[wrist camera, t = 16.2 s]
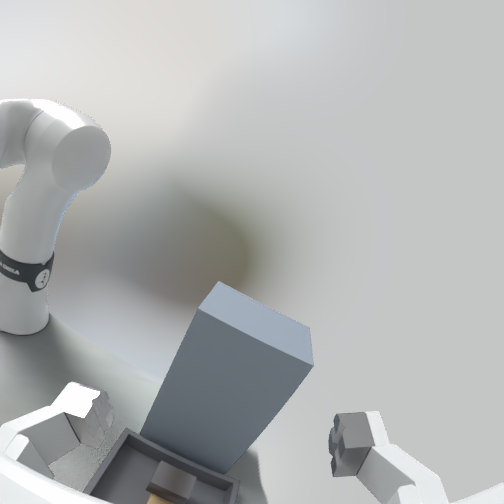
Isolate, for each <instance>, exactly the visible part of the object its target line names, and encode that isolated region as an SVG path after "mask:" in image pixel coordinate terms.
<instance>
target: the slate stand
mask: <svg viewBox="0 0 504 504" xmlns="http://www.w3.org/2000/svg"><path fill="white" fill-rule="evenodd" d="M313 366H314V363H313V353H312V344H311V335H310V328H309V327H307V326H305V325H303V324H301V323H299V322H297V321H295V320H293V319H291V318H289V317H287V316H285V315H283V314H281V313H279V312H277V311H275V310H273V309H271V308H269V307H267V306H266V305H264V304H262V303H260V302H258V301H256V300H254V299H252V298H250V297H248V296H246V295H244V294H242V293H240V292H238V291H236V290H235V289H233V288H231V287H229V286H227V285H225V284H223V283H221V282H220V281H218V283H217V284H216V285H215V287H214V288H213V289H212V291H211V292H210V293H209V294H208V296H207V297H206V298H205V300H204V301H203V302H202V304H201V305H200V306H199V308H198V309H197V311H196V314H195V316H194V318H193V320H192V322H191V324H190V327H189V328H188V330H187V332H186V335H185V337H184V339H183V341H182V343H181V345H180V347H179V349H178V352H177V354H176V356H175V358H174V360H173V362H172V364H171V367H170V369H169V371H168V373H167V375H166V377H165V379H164V382H163V384H162V386H161V388H160V390H159V392H158V395H157V397H156V399H155V401H154V403H153V406H152V408H151V410H150V412H149V414H148V417H147V419H146V421H145V423H144V426H143V428H142V430H141V432H140V436H142V437H144V438H146V439H147V440H149V441H151V442H153V443H155V444H157V445H159V446H161V447H163V448H164V449H166V450H168V451H170V452H173V453H175V454H177V455H179V456H181V457H183V458H185V459H187V460H189V461H192V462H194V463H196V464H198V465H201V466H203V467H205V468H208V469H210V470H213V471H215V472H217V473H220V474H222V475H224V474H225V473H226V472H227V471H228V470H229V469H230V468H231V467H232V466H233V464H234V463H235V462H236V461H237V460H238V459H239V458H240V457H241V456H242V455H243V453H244V452H245V451H246V450H247V449H248V448H249V447H250V446H251V444H252V443H253V442H254V441H255V440H256V439H257V437H258V436H259V435H260V434H261V433H262V432H263V430H264V429H265V428H266V427H267V425H268V424H269V423H270V422H271V421H272V420H273V418H274V417H275V416H276V415H277V413H278V412H279V411H280V410H281V408H282V407H283V406H284V405H285V403H286V402H287V401H288V399H289V398H290V397H291V396H292V394H293V393H294V392H295V390H296V389H297V388H298V386H299V385H300V384H301V383H302V381H303V380H304V378H305V377H306V376H307V375H308V373H309V372H310V370H311V369H312V367H313Z"/></svg>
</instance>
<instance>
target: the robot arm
mask: <svg viewBox="0 0 504 504" xmlns="http://www.w3.org/2000/svg"><path fill="white" fill-rule="evenodd" d="M110 154H111V146H110V141H109V139H108V136H107V135H106V133H105V132H104V131H103V130H102V128H101V127H100V126H99V125H98V124H97V123H96V122H95V120H94V119H92V118H91V117H90V116H88V115H86V114H84V113H81V112H79V111H77V110H75V109H73V108H70V107H68V106H66V105H63V104H61V103H59V102H57V101H53V100H39V99H9V100H0V169H3V168H6V167H9V166H13V165H19V164H25V168H24V171H23V174H22V176H21V178H20V180H19V182H18V184H17V186H16V188H15V190H14V192H13V193H11V194H10V195H9V196H8V198H7V199H6V202H5V206H4V211H3V216H2V222H1V228H0V330H1V331H5V332H8V333H12V334H17V335H28V334H33V333H36V332H38V331H40V330H42V329H43V328H44V327H45V326H46V324H47V323H48V320H49V312H48V303H47V297H48V295H47V291H48V281H49V277H50V274H51V270H52V265H53V260H54V251H53V250H54V246H55V242H56V238H57V234H58V230H59V227H60V224H61V221H62V218H63V216H64V213H65V211H66V209H67V208H68V206H69V204H70V203H71V201H72V200H73V199H74V197H75V196H76V195H77V193H79V192H80V191H82V190H85V189H87V188H89V187H90V186H92V185H93V184H94V183H95V182H97V181H98V180H99V178H100V177H101V176H102V175H103V173H104V172H105V170H106V168H107V166H108V163H109V160H110ZM108 399H109V397H108V395H107V392H106V391H103V390H100V389H96V388H93V387H89V386H86V385H83V384H79V383H76V382H70V383H68V384H67V386H66V387H65V388H64V390H63V391H62V392H61V393H60V395H59V396H58V397H57V399H56V400H55V401H54V402H53V404H52V405H51V406H46V407H43V408H41V409H38V410H36V411H34V412H31V413H29V414H26V415H24V416H22V417H19V418H17V419H14V420H12V421H9V422H7V423H4V424H3V425H2V426H1V427H0V504H113V503H110V502H107V501H104V500H101V499H98V498H96V497H93V496H90V495H88V494H85V493H82V492H80V491H77V490H75V489H73V488H70V487H68V486H66V485H63V484H61V483H59V482H57V481H55V480H53V479H54V474H53V473H52V471H51V470H50V469H49V467H48V465H49V464H51V463H52V462H54V461H55V460H57V459H59V458H60V457H62V456H63V455H65V454H66V453H68V452H69V451H71V450H72V449H74V448H75V447H77V446H79V445H80V443H81V444H84V445H87V446H91V447H94V448H97V449H99V448H100V446H101V444H102V442H103V440H104V439H105V434H104V432H105V431H106V430H108V429H110V427H111V425H112V423H113V418H114V414H113V409H112V406H111V405H110V404H109V403H108V402H107V400H108ZM329 453H330V454H331V455H332V456H333V458H332V461H331V467H332V473H333V477H343V476H356V477H357V478H358V479H359V480H360V481H361V482H362V483H363V485H364V486H365V487H366V488H367V489H368V490H369V491H370V492H371V493H372V494H373V495H374V496H375V497H376V498H377V500H378V501H379V502H380V503H381V504H449V502H448V499H447V496H446V494H445V491H444V488H443V485H442V483H441V480H440V477H439V476H438V475H436V474H435V473H433V472H432V471H431V470H429V469H428V468H426V467H425V466H424V465H422V464H421V463H420V462H418V461H417V460H415V459H414V458H412V457H411V456H410V455H409V454H407V453H406V452H404V451H403V450H402V449H400V448H399V447H398V446H397V445H395V444H390V441H389V438H388V435H387V432H386V429H385V426H384V423H383V420H382V417H381V415H380V413H379V412H378V411H372V412H358V413H342V414H336V416H335V418H334V427H333V428H332V429H331V431H330V434H329ZM450 504H504V482H502V483H500V484H497V485H495V486H493V487H491V488H488V489H486V490H484V491H482V492H479V493H477V494H474V495H472V496H469V497H466V498H464V499H461V500H458V501H456V502H452V503H450Z"/></svg>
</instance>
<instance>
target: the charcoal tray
mask: <svg viewBox="0 0 504 504" xmlns="http://www.w3.org/2000/svg"><path fill="white" fill-rule="evenodd" d="M161 460H162V461H164V462H166V463H168V464H170V465H172V466H174V467H176V468H178V469H180V470H182V471H185V472H187V473H189V474H191V475H193V476H196V477H197V478H196V481H195V484H194V487H193V489H192V492H191V495H190V498H189V500H188V501H187V502H186V503H185V504H235V501H236V496H237V492H238V487H239V482H240V481H238V480H236V479H233V478H230V477H228V476H225V475H222V474H220V473H217V472H215V471H213V470H210V469H208V468H205V467H203V466H201V465H198V464H196V463H194V462H192V461H189V460H187V459H185V458H183V457H181V456H179V455H177V454H175V453H173V452H170V451H168V450H166V449H164V448H163V447H161V446H159V445H157V444H155V443H153V442H151V441H149V440H147V439H146V438H144V437H142V436H140V435H138V434H137V433H135V432H133V431H131V430H130V429H128V428H125V430H124V431H123V433H122V434H121V436H120V437H119V439H118V440H117V442H116V443H115V445H114V446H113V448H112V449H111V451H110V452H109V454H108V455H107V457H106V458H105V460H104V461H103V463H102V464H101V466H100V467H99V469H98V470H97V472H96V473H95V474H94V476H93V477H92V479H91V480H90V482H89V483H88V485H87V486H86V488H85V489H84V491H83V492H82V493H85V494H88V495H90V496H93V497H96V498H98V499H101V500H104V501H107V502H110V503H113V504H146V503H147V501H148V499H149V497H150V495H151V493H150V492H148V491H146V488H147V486H148V484H149V482H150V480H151V478H152V476H153V474H154V472H155V470H156V468H157V467H158V465H159V463H160V462H161Z"/></svg>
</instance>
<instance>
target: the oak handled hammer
mask: <svg viewBox="0 0 504 504" xmlns="http://www.w3.org/2000/svg"><path fill="white" fill-rule="evenodd" d="M196 478H197V477H196V476H193V475H191V474H189V473H187V472H185V471H182V470H180V469H178V468H176V467H174V466H172V465H170V464H168V463H166V462H164V461H162V460H161V462H160V463H159V465H158V467H157V468H156V470H155V472H154V474H153V476H152V478H151V480H150V482H149V484H148V486H147V488H146V491H148V492H150V493H151V495H150V497H149V499H148V501H147V503H146V504H185V503H186V502H187V501H188V500H189V498H190V495H191V492H192V489H193V487H194V484H195V481H196Z"/></svg>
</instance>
